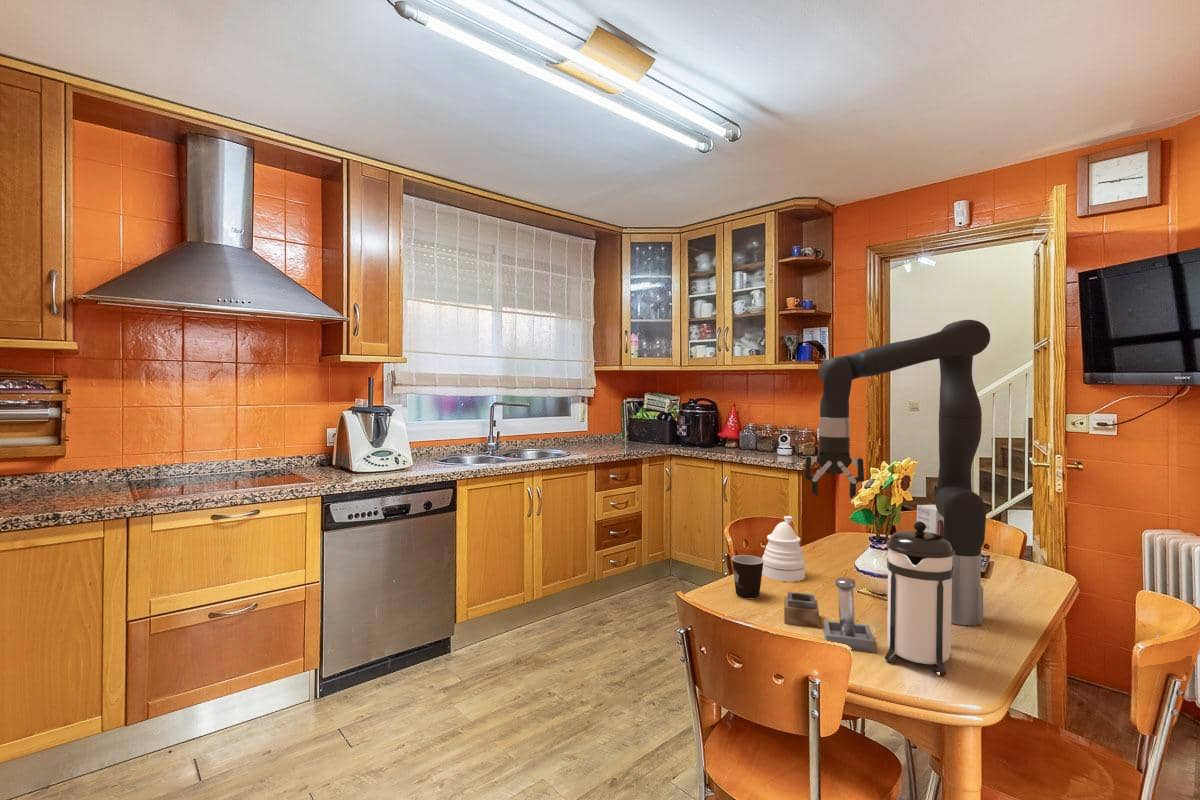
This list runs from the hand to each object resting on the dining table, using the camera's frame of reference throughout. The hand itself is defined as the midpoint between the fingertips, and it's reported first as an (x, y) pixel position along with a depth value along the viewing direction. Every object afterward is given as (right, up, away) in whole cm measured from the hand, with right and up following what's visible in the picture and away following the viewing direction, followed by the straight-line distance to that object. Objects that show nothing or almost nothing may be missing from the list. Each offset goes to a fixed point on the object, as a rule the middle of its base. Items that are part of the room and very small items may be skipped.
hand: (833, 496), depth 151 cm
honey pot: (-4, -30, +29) cm, 42 cm away
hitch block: (-10, -30, -4) cm, 32 cm away
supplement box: (+57, -29, +51) cm, 82 cm away
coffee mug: (-19, -30, +14) cm, 38 cm away
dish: (-3, -31, -17) cm, 35 cm away
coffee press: (+8, -31, -25) cm, 40 cm away
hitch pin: (-3, -30, -17) cm, 34 cm away
